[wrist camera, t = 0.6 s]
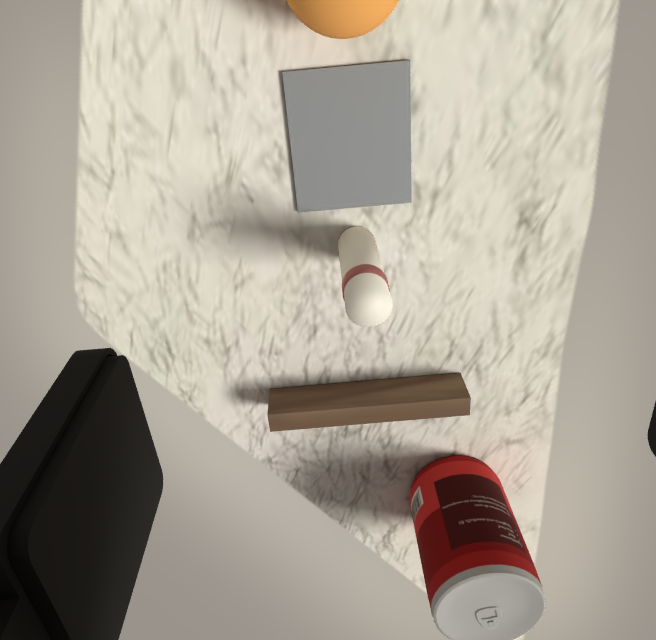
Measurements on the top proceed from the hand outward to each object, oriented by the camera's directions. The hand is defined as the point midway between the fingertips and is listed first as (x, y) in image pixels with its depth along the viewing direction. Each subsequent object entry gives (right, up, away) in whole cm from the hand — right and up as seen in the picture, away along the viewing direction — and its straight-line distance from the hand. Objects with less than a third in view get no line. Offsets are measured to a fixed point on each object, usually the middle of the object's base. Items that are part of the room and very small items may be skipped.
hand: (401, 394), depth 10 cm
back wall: (+1, -4, +32) cm, 32 cm away
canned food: (+9, -13, +38) cm, 41 cm away
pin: (+1, +6, +26) cm, 27 cm away
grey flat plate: (0, +12, +23) cm, 26 cm away
